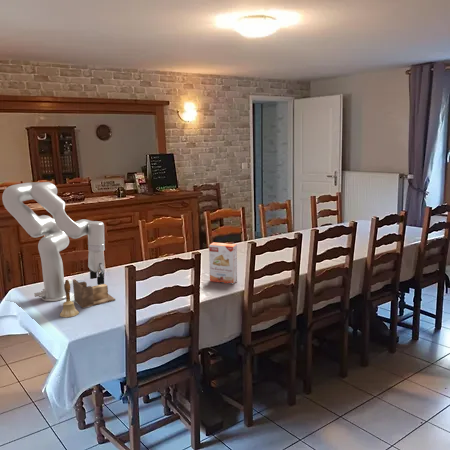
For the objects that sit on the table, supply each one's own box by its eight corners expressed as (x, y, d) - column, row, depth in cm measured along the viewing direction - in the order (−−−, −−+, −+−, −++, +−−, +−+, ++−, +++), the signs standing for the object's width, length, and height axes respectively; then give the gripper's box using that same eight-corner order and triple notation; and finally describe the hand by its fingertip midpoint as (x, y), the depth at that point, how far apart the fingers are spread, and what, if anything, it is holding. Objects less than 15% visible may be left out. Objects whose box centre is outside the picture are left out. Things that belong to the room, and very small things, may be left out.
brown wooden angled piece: (82, 308, 211) (80, 286, 209) (74, 300, 220) (72, 279, 218) (115, 300, 220) (113, 279, 218) (106, 293, 230) (104, 273, 227)
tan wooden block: (83, 302, 215) (82, 289, 214) (81, 300, 218) (80, 287, 217) (108, 297, 222) (107, 284, 221) (105, 295, 225) (104, 282, 224)
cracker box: (209, 281, 246) (208, 244, 241) (213, 278, 251) (213, 241, 247) (233, 284, 240) (233, 246, 236) (237, 281, 246) (237, 243, 242)
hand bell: (62, 311, 208) (59, 277, 205) (80, 310, 209) (78, 277, 205) (57, 318, 200) (54, 283, 197) (76, 317, 201) (73, 282, 197)
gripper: (82, 244, 221) (83, 277, 225) (95, 252, 208) (95, 287, 211) (97, 242, 226) (98, 275, 229) (110, 250, 212) (111, 285, 216)
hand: (97, 281), depth 220 cm, fingers open, 9 cm apart
